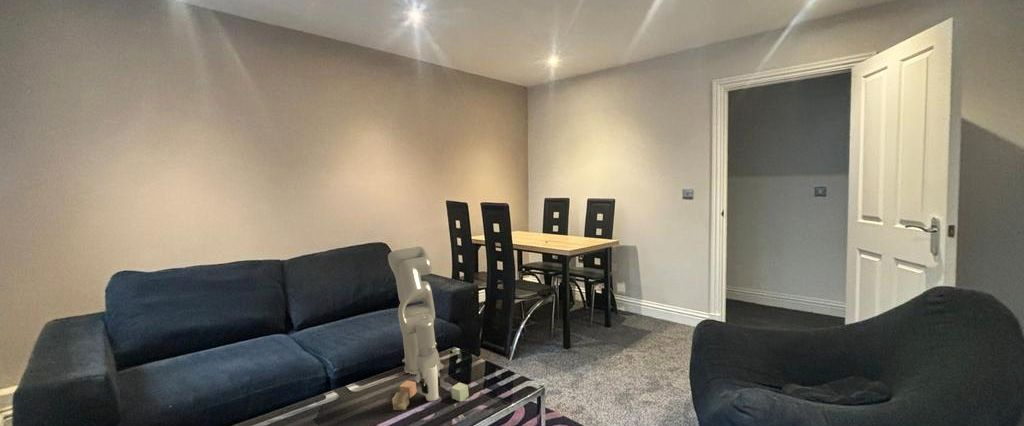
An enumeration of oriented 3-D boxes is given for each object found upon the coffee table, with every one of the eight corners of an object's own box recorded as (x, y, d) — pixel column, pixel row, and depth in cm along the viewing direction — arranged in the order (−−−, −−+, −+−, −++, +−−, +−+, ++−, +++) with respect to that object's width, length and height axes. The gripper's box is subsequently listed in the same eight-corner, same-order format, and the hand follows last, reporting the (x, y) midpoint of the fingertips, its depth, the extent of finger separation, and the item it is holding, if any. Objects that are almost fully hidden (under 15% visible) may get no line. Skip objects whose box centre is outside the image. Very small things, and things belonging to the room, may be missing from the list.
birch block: (393, 410, 188) (392, 398, 187) (398, 403, 193) (396, 392, 192) (405, 410, 187) (403, 398, 187) (409, 403, 192) (408, 392, 191)
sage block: (452, 398, 193) (451, 387, 192) (460, 393, 197) (459, 382, 196) (460, 401, 190) (459, 390, 189) (468, 396, 194) (467, 385, 193)
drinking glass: (425, 395, 197) (421, 362, 195) (440, 393, 198) (437, 361, 196) (423, 403, 191) (419, 370, 189) (439, 401, 191) (436, 368, 189)
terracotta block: (400, 396, 198) (399, 386, 197) (407, 390, 203) (406, 380, 202) (410, 398, 196) (408, 387, 195) (416, 392, 201) (415, 381, 200)
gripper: (436, 340, 200) (440, 378, 203) (405, 355, 187) (409, 396, 189) (447, 343, 196) (452, 382, 198) (417, 359, 182) (421, 401, 185)
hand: (431, 388), depth 194 cm, fingers closed on drinking glass, 6 cm apart
